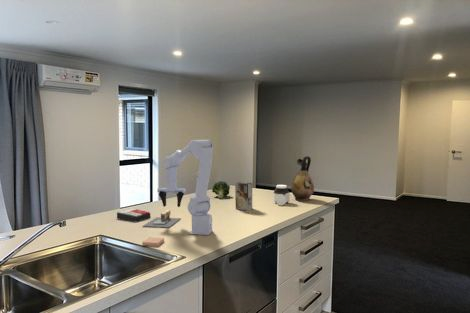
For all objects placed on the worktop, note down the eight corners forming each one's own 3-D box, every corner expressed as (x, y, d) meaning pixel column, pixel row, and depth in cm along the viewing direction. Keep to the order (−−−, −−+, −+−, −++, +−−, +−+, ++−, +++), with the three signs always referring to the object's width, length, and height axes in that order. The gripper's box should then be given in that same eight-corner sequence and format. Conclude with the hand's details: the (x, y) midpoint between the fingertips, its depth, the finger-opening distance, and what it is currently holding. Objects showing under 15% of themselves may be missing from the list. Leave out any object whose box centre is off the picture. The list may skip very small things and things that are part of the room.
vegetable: (208, 195, 257) (210, 183, 270) (220, 206, 261) (221, 194, 274) (220, 186, 252) (222, 174, 265) (233, 197, 257) (233, 185, 270)
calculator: (136, 215, 194) (116, 211, 201) (136, 223, 194) (116, 218, 202) (150, 211, 203) (131, 207, 211) (150, 219, 204) (131, 214, 211)
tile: (164, 238, 160) (157, 242, 153) (164, 242, 160) (158, 247, 153) (149, 237, 161) (142, 242, 154) (149, 241, 161) (142, 246, 154)
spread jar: (284, 201, 247) (284, 184, 246) (294, 204, 236) (294, 186, 235) (269, 202, 241) (269, 185, 240) (278, 206, 231) (278, 187, 230)
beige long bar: (163, 217, 201) (163, 209, 200) (173, 218, 200) (173, 210, 199) (153, 224, 187) (152, 215, 187) (164, 224, 186) (164, 216, 185)
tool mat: (180, 219, 199) (180, 218, 199) (169, 228, 181) (169, 227, 181) (156, 218, 202) (156, 217, 202) (142, 226, 184) (142, 225, 184)
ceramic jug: (303, 202, 241) (304, 157, 238) (286, 199, 253) (286, 156, 250) (320, 199, 251) (320, 156, 249) (302, 196, 263) (303, 155, 261)
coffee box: (253, 208, 225) (252, 182, 224) (248, 210, 219) (248, 184, 218) (239, 207, 229) (239, 181, 228) (235, 209, 223) (234, 183, 222)
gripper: (187, 179, 189) (187, 205, 190) (160, 178, 192) (161, 204, 193) (182, 181, 182) (183, 208, 183) (155, 180, 185) (156, 207, 186)
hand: (171, 206), depth 188 cm, fingers open, 7 cm apart
